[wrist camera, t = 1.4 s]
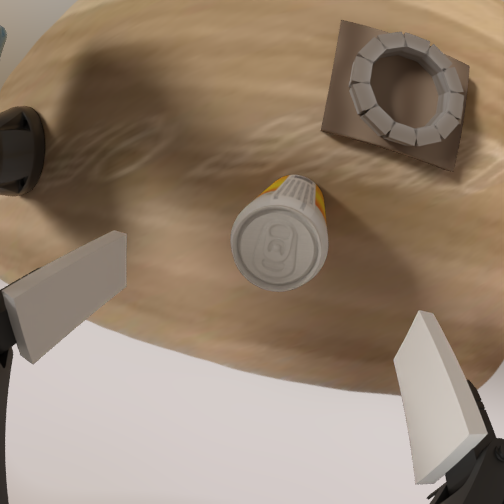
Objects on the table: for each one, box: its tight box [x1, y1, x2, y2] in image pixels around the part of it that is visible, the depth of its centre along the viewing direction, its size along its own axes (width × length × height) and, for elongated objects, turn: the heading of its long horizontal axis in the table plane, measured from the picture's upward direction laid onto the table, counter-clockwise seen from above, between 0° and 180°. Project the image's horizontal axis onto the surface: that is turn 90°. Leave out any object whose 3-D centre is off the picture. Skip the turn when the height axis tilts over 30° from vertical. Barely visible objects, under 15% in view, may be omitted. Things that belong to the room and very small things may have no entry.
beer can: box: [231, 175, 328, 292], centre depth 24 cm, size 6×6×15 cm
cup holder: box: [321, 20, 469, 172], centre depth 22 cm, size 14×12×6 cm
